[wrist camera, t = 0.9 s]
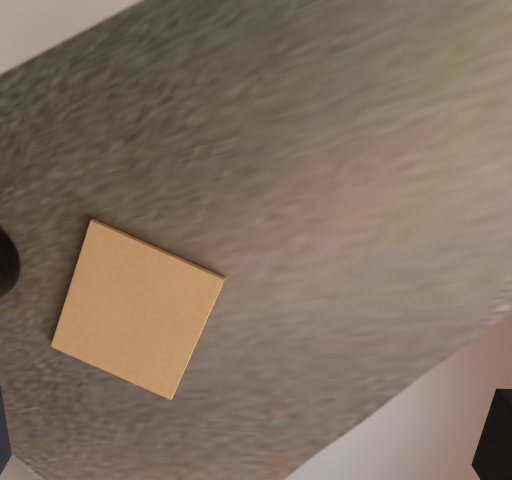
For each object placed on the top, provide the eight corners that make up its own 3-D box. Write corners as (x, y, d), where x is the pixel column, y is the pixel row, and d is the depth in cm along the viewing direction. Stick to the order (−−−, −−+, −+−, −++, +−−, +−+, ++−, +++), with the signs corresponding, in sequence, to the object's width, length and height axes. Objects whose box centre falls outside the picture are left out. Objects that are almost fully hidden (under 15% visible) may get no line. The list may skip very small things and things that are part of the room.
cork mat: (93, 218, 34) (90, 219, 33) (225, 277, 34) (224, 280, 33) (53, 343, 37) (50, 346, 37) (172, 396, 37) (171, 400, 37)
